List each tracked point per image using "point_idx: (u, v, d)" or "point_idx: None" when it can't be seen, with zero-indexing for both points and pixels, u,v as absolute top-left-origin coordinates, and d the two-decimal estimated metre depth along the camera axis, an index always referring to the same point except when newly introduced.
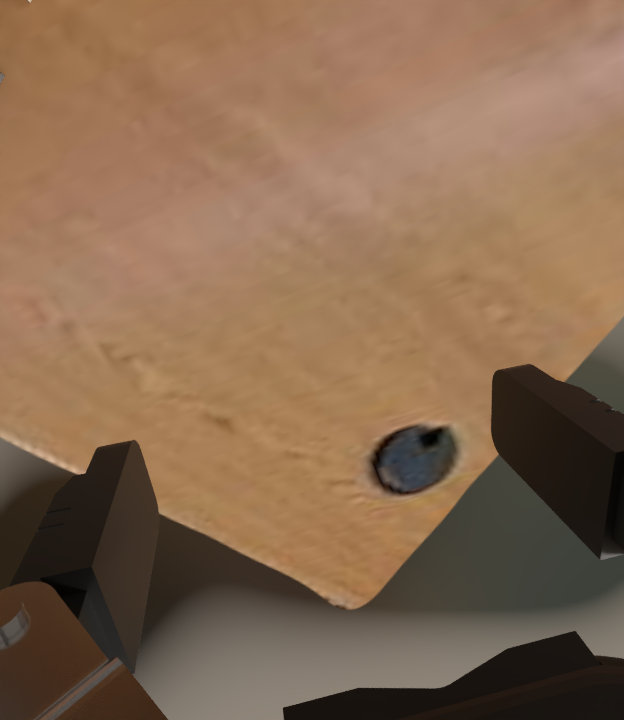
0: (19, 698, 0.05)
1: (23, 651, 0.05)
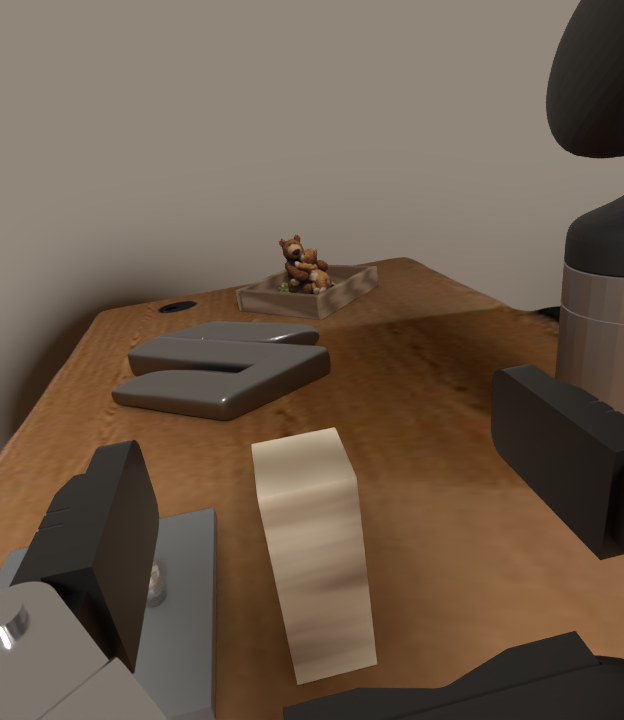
0: (20, 698, 0.05)
1: (22, 651, 0.05)
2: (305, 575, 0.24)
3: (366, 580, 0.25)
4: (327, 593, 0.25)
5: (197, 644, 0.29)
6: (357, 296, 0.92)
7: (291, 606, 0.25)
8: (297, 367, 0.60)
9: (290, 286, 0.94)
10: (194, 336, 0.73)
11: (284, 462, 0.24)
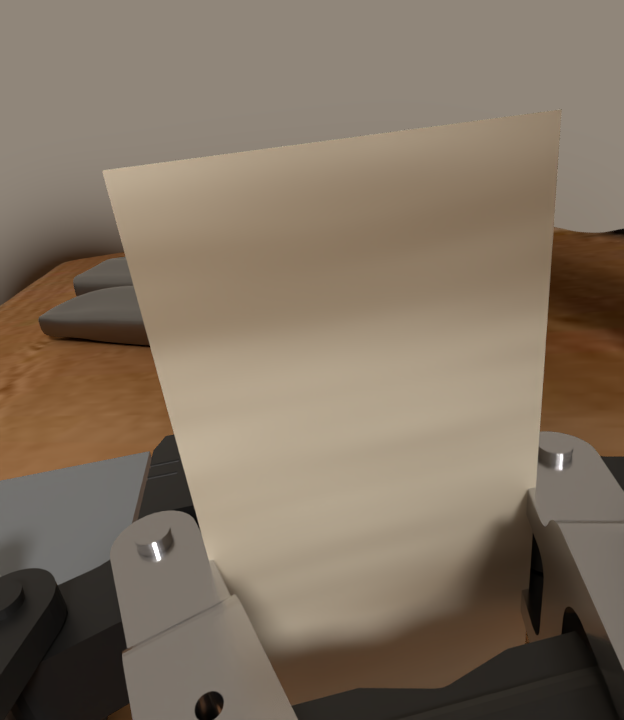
0: (191, 591, 0.06)
1: (165, 567, 0.06)
2: (323, 559, 0.07)
3: (524, 577, 0.08)
4: (396, 620, 0.07)
5: None
6: None
7: (275, 665, 0.07)
8: None
9: None
10: None
11: None
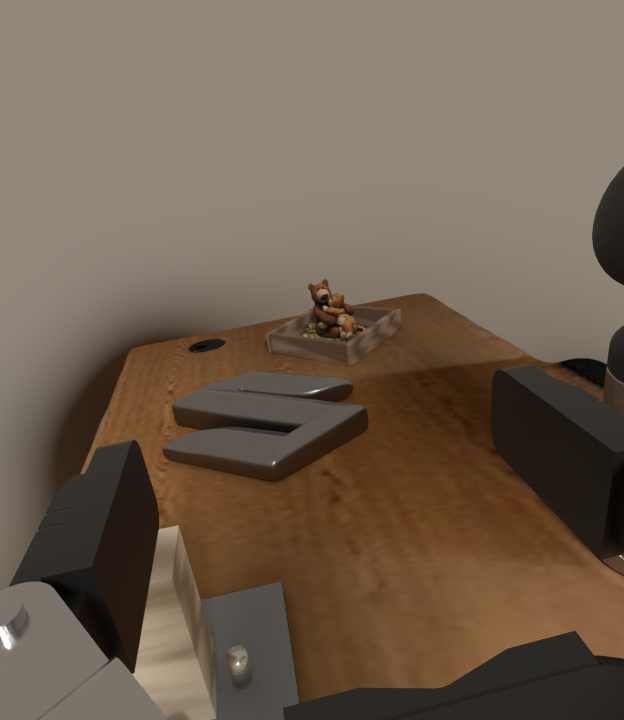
0: (19, 698, 0.05)
1: (23, 651, 0.05)
2: (140, 652, 0.30)
3: (194, 654, 0.31)
4: (162, 664, 0.31)
5: None
6: (383, 339, 0.96)
7: (133, 675, 0.31)
8: (339, 427, 0.63)
9: (318, 329, 0.98)
10: (234, 387, 0.77)
11: None
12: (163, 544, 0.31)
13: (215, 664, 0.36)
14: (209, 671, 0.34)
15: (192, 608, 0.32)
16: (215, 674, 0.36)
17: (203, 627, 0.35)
